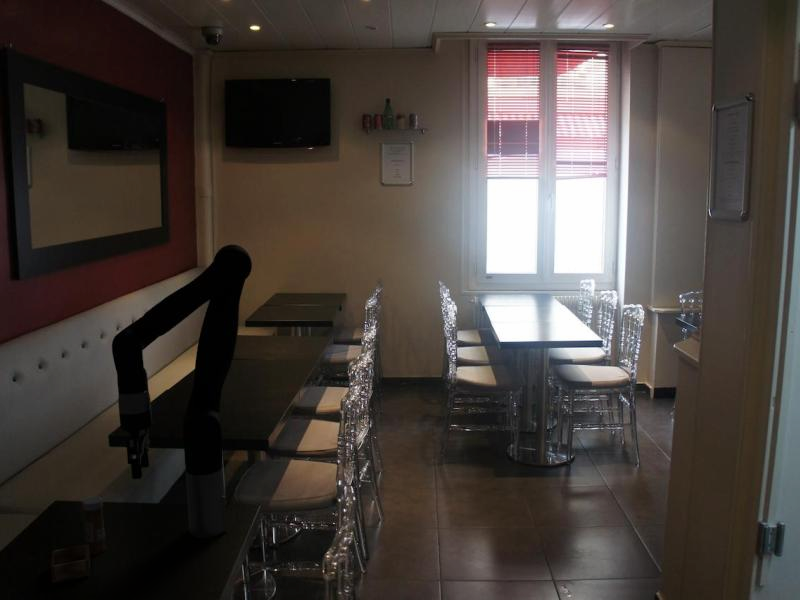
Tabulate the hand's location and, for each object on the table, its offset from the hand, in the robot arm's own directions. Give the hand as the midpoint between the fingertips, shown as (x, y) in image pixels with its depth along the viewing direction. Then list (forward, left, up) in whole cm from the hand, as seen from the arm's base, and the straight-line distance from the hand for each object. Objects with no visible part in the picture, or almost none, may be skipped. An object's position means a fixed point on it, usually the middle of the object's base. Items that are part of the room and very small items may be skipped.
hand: (141, 472), depth 186 cm
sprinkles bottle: (+12, -1, -19) cm, 22 cm away
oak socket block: (+17, +7, -19) cm, 26 cm away
